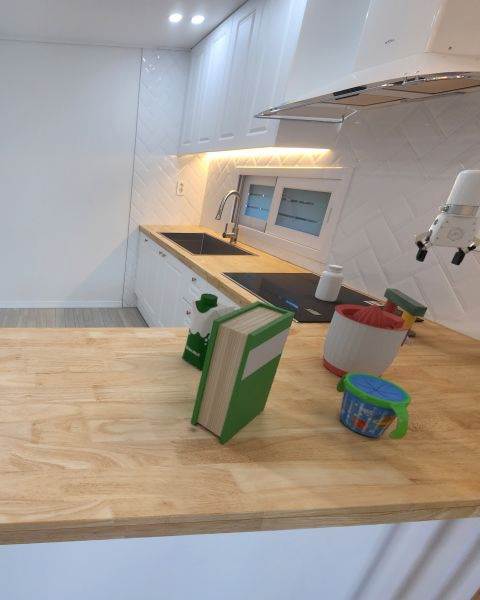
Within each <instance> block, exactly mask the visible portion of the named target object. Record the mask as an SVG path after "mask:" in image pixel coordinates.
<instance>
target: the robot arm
mask: <svg viewBox="0 0 480 600" xmlns="http://www.w3.org/2000/svg"><path fill="white" fill-rule="evenodd" d="M448 195H449V196H448V197H447V200H446V202H445V204H444V205H443V206H442V205H441V206H439V207H438V211H441V213H439V214H438V215H437V217H436V218H435V219H434V221H433V222H432V224H431V226H430V228H429V229H428V231H425V232H421V233H418V234H415V235H414V236H413V239H414V244H415V245H416V247H417V249H418V251H417V253H416V255H415V260H416V261H417V262H420V263H423V262H424V261H425V259H426V257H427V254H428V252H429V251H428V249H430V248H431V247H433V246H435V247H447V248H456V249H457V251H456V252H455V253H454V255H453V257H452V259H451V261H450V263H451V264H453V265H455V266H460V265H461V264H462V263H463V261H464V259H465V256H466V255H467V254H469V253H470V252H472V251H474V250H475V249H477V247H478V246H480V238H478V237H477V236H475V234H476V231H477V228H478V223H479V217H478V216H477V214H478V211H479V209H480V169H464V170H461V171H460V172H459V173H458V174H457V176H456V179H455V181H454V184H453V185H452V189H451V190H450V193H449V194H448ZM423 239H424V242H422V240H423Z"/></svg>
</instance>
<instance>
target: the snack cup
mask: <svg viewBox="0 0 480 600" xmlns="http://www.w3.org/2000/svg"><path fill="white" fill-rule="evenodd" d="M335 389H336V391H337V392H338V393H342V399H341V405H340V411H339V420H340V421H341V422H342V423H343V424H344V426H346V427H348V428H349V429H350V430H351V431H352V432H356V433H358V434H360V435H364V436H366V437H371V438H377V437H380V436H383V435H384V434H385V432H386V431H387V430H388V429H389V427H390V426H391V425H392V424H393V423H394V421H395V420H396V423H395V424H396V425H395V428H394V429H393V430H392V431H391V432H390V433H389V434H388V437H389V439H392V440H399V439H400V440H401V439H402V438H404V437H405V436H406V435H407V432H408V428H409V418H410V417H409V410H408V406H409V405H410V404H411V401H412V397H411V395H410V394H409V393H408V392H407V391H406V390H405V389H404V388H402V387H401V386H399V385H398V384H396V383H394V382H392V381H390V380H387V379H385V378H382V377H381V376H380V377H376V376H373V375H369V374H364V373H348V374H345V375H344V376H343V377H342V376H341V378H340V380H339V381H338V383H337V385H336V388H335Z"/></svg>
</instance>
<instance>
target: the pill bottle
mask: <svg viewBox="0 0 480 600" xmlns="http://www.w3.org/2000/svg"><path fill="white" fill-rule="evenodd" d="M343 270H344V266H342V265H337V264H328V265H327V269H326V270H324V271H322V272H321V274H320V278H319V281H318V283H317V287H316V290H315V294H314V297H315V298H316V299H317V300H320V301H324V302H336V301H337V299H338V296H339V293H340V290H341V287H342V284H343V282H344V278H345V274H344V273H342V272H343Z"/></svg>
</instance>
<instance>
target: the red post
mask: <svg viewBox="0 0 480 600" xmlns="http://www.w3.org/2000/svg"><path fill="white" fill-rule="evenodd" d="M398 307H399V306H397V305H396V304H394V303H393V302H391V301H390V300H389V299H387V298H386V301H385V304H384V306H383V308H382V311H385V312H388V313H391V314H394V315H396V312H397V309H398Z"/></svg>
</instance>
